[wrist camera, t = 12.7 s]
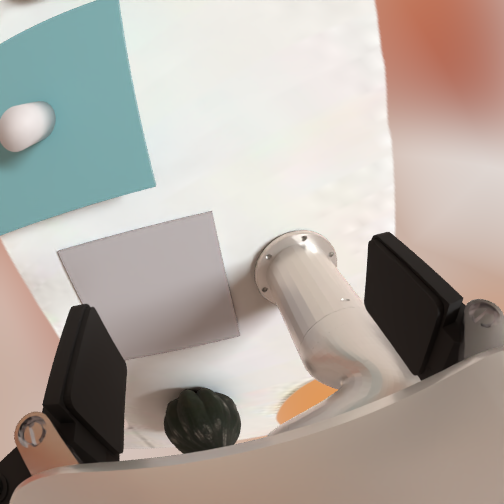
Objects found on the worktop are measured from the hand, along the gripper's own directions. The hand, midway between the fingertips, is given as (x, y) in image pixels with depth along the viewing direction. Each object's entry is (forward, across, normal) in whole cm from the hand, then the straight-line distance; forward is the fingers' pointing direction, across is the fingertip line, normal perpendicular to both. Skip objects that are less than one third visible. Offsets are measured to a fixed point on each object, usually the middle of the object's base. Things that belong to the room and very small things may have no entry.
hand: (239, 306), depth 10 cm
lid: (+23, +15, -8) cm, 29 cm away
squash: (+31, +11, +47) cm, 57 cm away
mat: (+30, +11, +20) cm, 38 cm away
